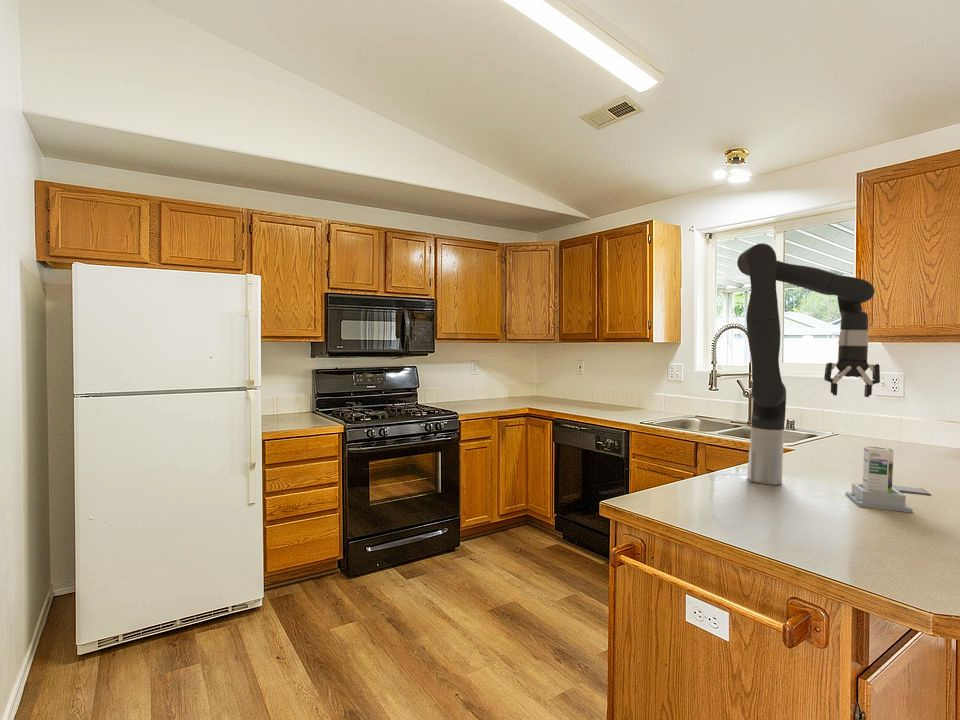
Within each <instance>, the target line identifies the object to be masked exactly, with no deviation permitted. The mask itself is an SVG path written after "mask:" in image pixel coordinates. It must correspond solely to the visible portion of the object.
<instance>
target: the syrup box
mask: <svg viewBox="0 0 960 720" xmlns="http://www.w3.org/2000/svg"><path fill="white" fill-rule="evenodd" d="M862 469H863V470H862V472H863V473H862V484H863V489H864V490H866V491H872V492H882V493H892V485H893V474H894V473H893V472H894V450H893V449H892V448H889V447H879V446H869V445H864V447H863V468H862Z"/></svg>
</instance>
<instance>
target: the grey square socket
mask: <svg viewBox="0 0 960 720" xmlns="http://www.w3.org/2000/svg"><path fill="white" fill-rule="evenodd" d="M845 496H846V497H847V498H848V499H849V500H851V502H852V503H854V504H855V505H856V506H857V507H860V508H869V509H878V510H888V511H896V512H906V513H913V508H912V507H911V506H909V505H908V504H906V501H907V500H906V497H907V496H906V494H905V493H902V492H899V491H898V490H896V489H895V488H893V487H892V493H882V492H872V491H866V490H864V489H863V483H856V482H852V483H851V491H845Z"/></svg>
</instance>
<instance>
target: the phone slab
mask: <svg viewBox="0 0 960 720" xmlns="http://www.w3.org/2000/svg"><path fill="white" fill-rule="evenodd" d="M892 487H893V488H895V489H896V490H898V491H899V492H901V493H902V494H913V495H920V496H921V495H922V496H929V497H930V496H932V494H931V493H930V492H928V491H927V490H925V489H923V488H920V487H912V486H903V485H902V486H901V485H894V484H892Z"/></svg>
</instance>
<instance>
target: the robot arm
mask: <svg viewBox="0 0 960 720" xmlns="http://www.w3.org/2000/svg"><path fill="white" fill-rule="evenodd" d="M736 265H737V267H738V270H739V271H740V272H741V273H742V274H744V275H746V276H747V277H749V279H750V280H749V281H750V296H749V300H748V303H747V304H748V305H747V310H746V315H745V316H746V317H745V318H746V332H747V340H748V347H749V352H750V357H751V362H752V363H751V364H752V376H751V377H752V381H751V382H752V383H751V395H752V398H753V400H752V403H753V404H752V414H751V423H750V426H751V427H750V444H749V445H750V446H749V449H748V469H747V470H748V471H747V478H748V480H749V482H750V483H751V482H753V483H757V484H763V485H771V486H772V485H773V486H777V485H782V483H783V464H784V463H783V461H784V439H785V438H784V437H785V421H786V409H787V407H786V406H787V389H786V386H785V384H784V383H783V380H782V376H781V370H780V361H779V360H780V359H779V358H780V350H781V324H780V323H781V322H780V314H779V305H778V293H777V282H781V283H785V284H790V285H793V286H797V287H800V288H803V289H806V290H809V291H812V292H815V293H818V294H821V295H826V296H837V305H838V308H839V314H840V330H839V335H838V349H837V350H838V355H837V362H836V363H835V362H834V363H833V362H829V361H828V362H826V363H825V369H824V377H823V379H824V381H825V382H829V383H830V394H832V396H838V382H840V380H841V379H842V378H844V377H847V378H848V377H849V378H851V377H852V378H860V379H862V380H863V382H864V383H865V385H864V395H863V396H864V398H870V396H872V394H873V393H872V391H873V385H875V384H879V383H881V380H880V379H881V374H880V373H881V370H880V369H881V367H880V364H879V363H873V364H871V363H868V352H869V351H868V349H869V348H868V347H869V333H868V332H869V331H868V330H869V329H868V328H869V315H868V314H867V312H865V311H863V307H862V304H863V303H867V302H868V301H869V300H872V298H874V294H875V287H874V285H873V284H872V283H871V282H869V281H867V280H866V279H862V278H858V277H855V276H847V275H840V274H838V273H837V274H836V272H835V273H834V272H832V271H829V270H826V269H822V268H820V267H819V268H818V267H814V266H809V265H802V264H794V263H788V262H784V261H781V260H777V253H776V251H775V249H774V248H773V247H772V246H771V245H770V244H768V243H763V242H762V243H757V244H754V245H752V246H751V247H749V248H747V249H745V250H744V251H743V252H741V254H739V256H738V258H737V263H736ZM835 367H836V369H837V370H838V372H837V373H836V374H835V375H834V376H833V378H832V371H833V370H834V369H835ZM868 369H870V371H871V372H872V379H870V377H869V376H868V374H867V373H866V371H867V370H868Z"/></svg>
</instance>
